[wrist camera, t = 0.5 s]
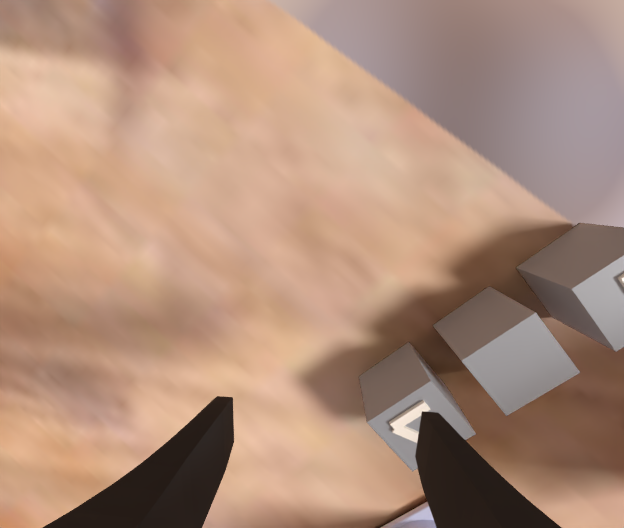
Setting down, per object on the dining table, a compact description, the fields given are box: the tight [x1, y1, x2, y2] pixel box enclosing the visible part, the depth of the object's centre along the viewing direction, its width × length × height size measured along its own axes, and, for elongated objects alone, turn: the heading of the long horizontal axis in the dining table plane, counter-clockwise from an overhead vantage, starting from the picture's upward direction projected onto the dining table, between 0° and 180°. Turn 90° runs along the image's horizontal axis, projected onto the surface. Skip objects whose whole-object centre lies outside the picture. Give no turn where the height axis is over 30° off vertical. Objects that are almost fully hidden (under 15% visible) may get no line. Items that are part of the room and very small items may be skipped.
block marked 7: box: [359, 342, 476, 471], centre depth 19 cm, size 4×4×5 cm
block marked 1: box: [516, 223, 624, 351], centre depth 16 cm, size 4×4×5 cm
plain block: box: [433, 286, 580, 416], centre depth 18 cm, size 4×4×4 cm
